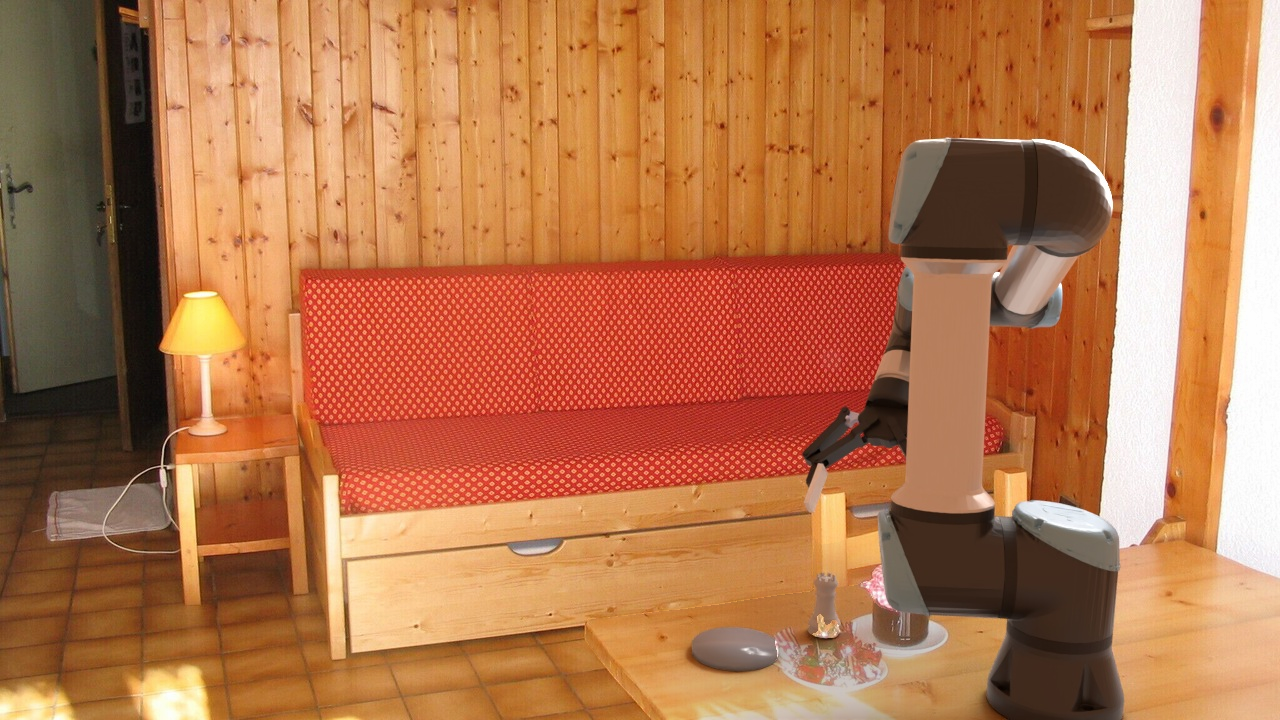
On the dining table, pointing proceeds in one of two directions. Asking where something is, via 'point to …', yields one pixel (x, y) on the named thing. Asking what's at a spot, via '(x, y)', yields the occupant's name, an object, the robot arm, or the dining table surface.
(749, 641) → the glossy grey pebble
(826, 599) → the rook chess piece
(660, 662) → the dining table surface
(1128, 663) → the dining table surface
